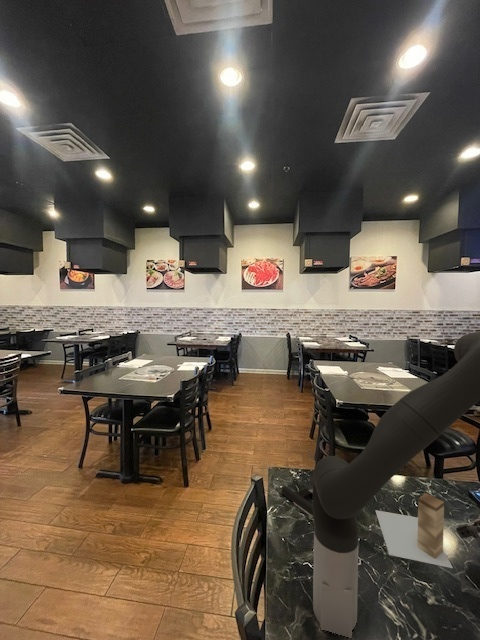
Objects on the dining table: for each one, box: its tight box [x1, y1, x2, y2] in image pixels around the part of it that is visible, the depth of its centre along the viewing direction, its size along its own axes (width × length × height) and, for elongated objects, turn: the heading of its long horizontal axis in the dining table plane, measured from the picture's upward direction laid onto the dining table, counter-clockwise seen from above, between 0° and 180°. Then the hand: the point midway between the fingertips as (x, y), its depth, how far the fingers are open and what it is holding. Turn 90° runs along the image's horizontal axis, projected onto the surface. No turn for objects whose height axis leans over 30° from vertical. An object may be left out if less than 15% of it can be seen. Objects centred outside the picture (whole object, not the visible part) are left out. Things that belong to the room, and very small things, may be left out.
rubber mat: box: [375, 509, 454, 569], centre depth 83 cm, size 18×15×1 cm
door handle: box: [281, 485, 314, 518], centre depth 98 cm, size 3×20×16 cm
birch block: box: [417, 493, 445, 559], centre depth 77 cm, size 4×4×14 cm
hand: (459, 532), depth 72 cm, fingers closed
